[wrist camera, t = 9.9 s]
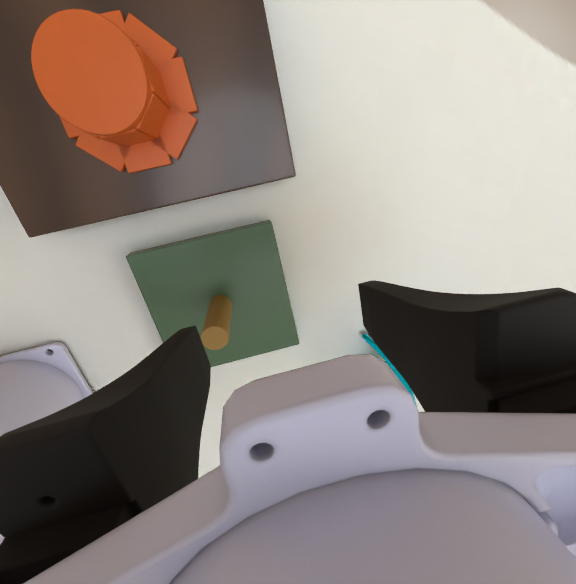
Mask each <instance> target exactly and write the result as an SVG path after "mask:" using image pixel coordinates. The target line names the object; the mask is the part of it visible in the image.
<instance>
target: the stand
mask: <svg viewBox="0 0 576 584" xmlns="http://www.w3.org/2000/svg"><path fill="white" fill-rule="evenodd" d="M66 9H83V10H88V11H91V12H94V13H97V14H101V13H106V12H111V11H116V10H120V11H121V12H122V14H123V16H124V19H125V21H126V18H127V16H128V13H131V14H132V15H133V16H135V17H136V18H137V19H139V20H140V21H141V22H143V23H144V24H145V25H147V26H148V27H149V28H151V29H152V30H153V31H155V32H156V33H157V34H159V35H160V36H161V37H162V38H164V39H165V40H166V41H168V42H169V43H170V44H172V45H173V46H174V47H176V48H177V50H178V52H177V55H176V57H175V58H177V57H183V59H184V62H185V66H186V69H187V73H188V76H189V80H190V84H191V87H192V91H193V94H194V98H195V101H196V105H197V108H198V112H195V113H191V115H193V116H194V117H195V118H197V120H198V121H197V123H196V125H195V127H194V129H193V131H192V133H191V135H190V137H189V139H188V141H187V143H186V145H185V147H184V149H183V151H182V153H181V155H180V157H179V159H175V158H174V157H172V156H171V155H170V157H171V160H172V164H171V165H166V166H162V167H157V168H153V169H148V170H144V171H140V172H135V173H128V171H127V168H126V167H125V169H124V171H123V172H120V171H118V170H117V169H115V168H113V167H112V166H110V165H108V164H106V163H105V162H103V161H101V160H100V159H98V158H96V157H95V156H93V155H91V154H89V153H88V152H86V151H84V150H83V149H81V148H79V147H77V146H76V142H77V140H78V138H75V139H71V138H69V137H68V135H67V132H66V130H65V128H64V126H63V123H62V121H61V119H60V117H59V115H58V114H57V113H56V112H55V111H54V110H53V109H52V107H51V106H50V105H49V104H48V102H47V101H46V99H45V98H44V96H43V95H42V93H41V91H40V89H39V87H38V85H37V82H36V80H35V76H34V73H33V68H32V62H31V51H32V44H33V40H34V37H35V34H36V32H37V30H38V28H39V27H40V25H41V24H42V23H43V22H44V21H45V20H46V19H47V18H48V17H50V16H51V15H52V14H54V13H57V12H59V11H62V10H66ZM295 176H296V174H295V168H294V163H293V158H292V152H291V147H290V142H289V136H288V131H287V126H286V120H285V115H284V110H283V104H282V99H281V94H280V88H279V83H278V78H277V72H276V67H275V62H274V56H273V51H272V46H271V40H270V35H269V30H268V24H267V19H266V14H265V8H264V3H263V0H0V185H1V187H2V189H3V191H4V193H5V195H6V196H7V198H8V200H9V202H10V204H11V205H12V207H13V209H14V211H15V213H16V214H17V216H18V218H19V220H20V222H21V224H22V225H23V227H24V229H25V231H26V233H27V234H28V236H29V237H35V236H39V235H44V234H48V233H52V232H57V231H61V230H65V229H70V228H74V227H78V226H83V225H87V224H91V223H96V222H100V221H104V220H109V219H113V218H117V217H122V216H126V215H130V214H135V213H139V212H143V211H148V210H152V209H156V208H161V207H165V206H169V205H174V204H178V203H182V202H187V201H191V200H195V199H200V198H204V197H208V196H213V195H217V194H221V193H226V192H230V191H234V190H239V189H243V188H247V187H252V186H256V185H260V184H265V183H269V182H273V181H278V180H282V179H286V178H291V177H295Z"/></svg>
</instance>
